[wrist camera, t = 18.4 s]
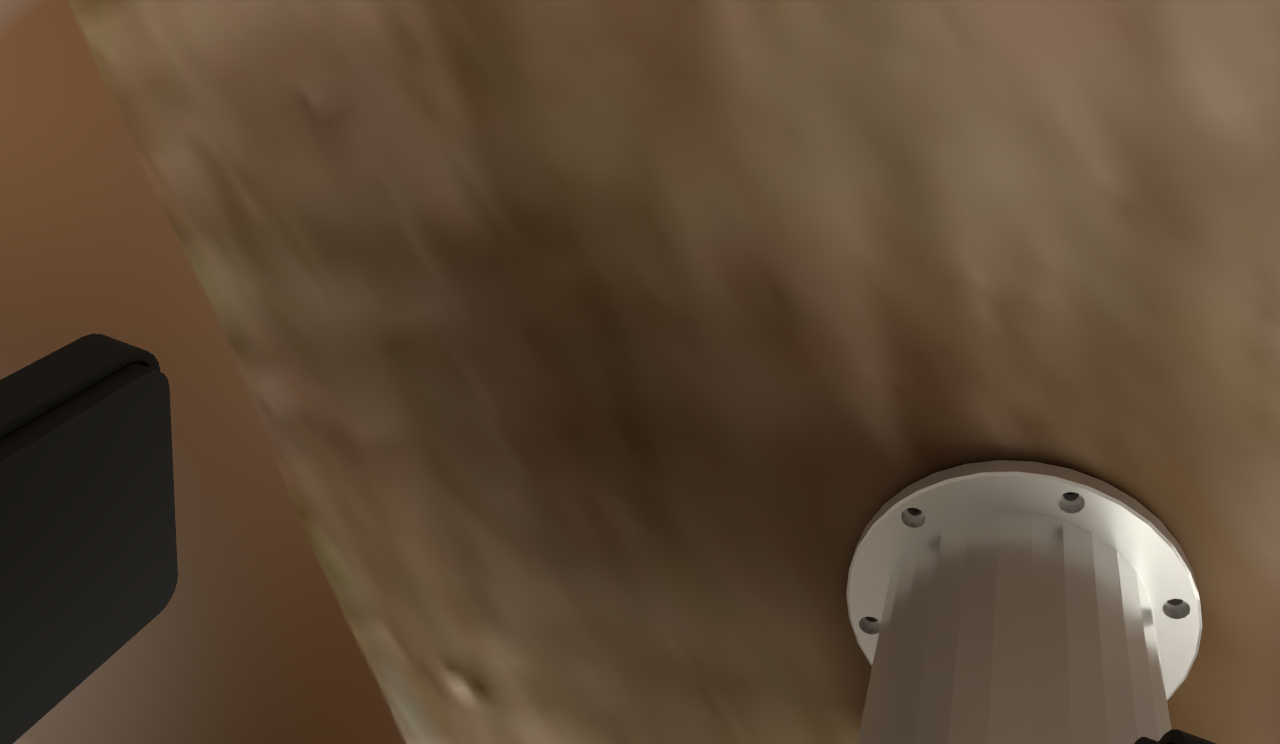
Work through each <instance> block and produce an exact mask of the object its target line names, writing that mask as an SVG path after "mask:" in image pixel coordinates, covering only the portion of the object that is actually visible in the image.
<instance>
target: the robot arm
mask: <svg viewBox="0 0 1280 744" xmlns="http://www.w3.org/2000/svg"><path fill="white" fill-rule="evenodd" d="M170 415H171V414H170V391H169V383H168V379H167V378H166V376H165V374H163V373H161V372H160V367H159V363H158V361H157V359H156V358H155V356H154V355H153V354H151V353H149V352H148V351H146V350H143V349H140V348H138V347H135V346H132V345H129V344H127V343H124V342H121V341H118V340H116V339H113V338H110V337H107V336H105V335H102V334H90V335H87V336H84V337H81V338H79V339H78V340H76V341H74V342H72V343H70V344H68V345H66V346H64V347H62V348H60V349H59V350H57V351H55V352H53V353H51V354H49V355H47V356H45V357H43V358H41V359H40V360H38V361H36V362H34V363H32V364H30V365H28V366H26V367H24V368H22V369H21V370H19V371H17V372H15V373H13V374H11V375H9V376H7V377H5V378H3V379H2V380H0V744H13V743H14V742H15V741H16V740H17V739H18V738H20V737H21V736H22V735H23V734H24V733H25V732H26V731H27V730H29V729H30V728H31V727H32V726H33V725H34V724H35V723H37V722H38V721H39V720H40V719H41V718H42V717H43V716H44V715H45V714H47V713H48V712H49V711H50V710H51V709H52V708H53V707H55V706H56V705H57V704H58V703H59V702H60V701H61V700H62V699H63V698H64V697H66V696H67V695H68V694H69V693H70V692H71V691H73V690H74V689H75V688H76V687H77V686H78V685H79V684H80V683H82V682H83V681H84V680H85V679H86V678H87V677H88V676H89V675H91V674H92V673H93V672H94V671H95V670H96V669H97V668H98V667H100V665H102V664H103V663H104V662H105V661H106V660H107V659H109V658H110V657H111V656H112V655H113V654H114V653H115V652H116V651H118V650H119V649H120V648H121V647H122V646H123V645H124V644H125V643H126V642H127V641H129V640H130V639H131V638H132V637H133V636H134V635H136V634H137V633H138V632H139V631H140V630H141V629H142V628H143V627H144V626H146V625H147V624H148V623H149V622H150V621H151V620H152V619H153V618H155V617H156V616H157V615H158V614H159V613H160V612H161V611H162V610H163V609H164V608H165V607H166V605H167V603H168V602H169V601H170V599H171V597H172V595H173V593H174V591H175V588H176V584H177V576H178V572H177V550H176V528H175V505H174V481H173V461H172V460H173V459H172V436H171V416H170ZM1067 492H1075V494H1067ZM913 508H917V509H918V510H917V509H913ZM846 597H847V606H848V614H849V620H850V623H851V626H852V629H853V631H854V634H855V637H856V640H857V643H858V644H859V646H860V648H861V649H862V651H863V653H864V655H865V656H866V658H867V660H868V661H869V663H870V665H871V666H872V669H871V674H870V680H869V685H868V690H867V695H866V700H865V705H864V710H863V715H862V720H861V725H860V730H859V736H858V741H857V744H1215V743H1213V742H1210V741H1207V740H1204V739H1202V738H1199V737H1196V736H1194V735H1191V734H1188V733H1185V732H1183V731H1180V730H1174V729H1171V725H1170V718H1169V712H1168V705H1167V700H1168V699H1170V697H1171V696H1172V695H1173V694H1174V692H1175V691H1176V690H1177V689H1178V687H1179V686H1180V685H1181V684H1182V682H1183V681H1184V680H1185V679H1186V677H1187V675H1188V673H1189V671H1190V669H1191V667H1192V664H1193V662H1194V660H1195V658H1196V656H1197V654H1198V649H1199V643H1200V638H1201V632H1202V616H1201V605H1200V597H1199V593H1198V589H1197V585H1196V581H1195V577H1194V573H1193V570H1192V568H1191V566H1190V564H1189V562H1188V560H1187V558H1186V556H1185V554H1184V552H1183V550H1182V548H1181V546H1180V544H1179V543H1178V542H1177V541H1176V539H1175V538H1174V537H1173V536H1172V534H1171V533H1170V532H1169V531H1168V530H1167V528H1166V527H1165V526H1164V525H1163V523H1162V522H1161V521H1160V520H1159V519H1158V518H1157V517H1156V516H1154V515H1153V514H1152V513H1151V512H1150V511H1148V510H1147V509H1146V508H1145V507H1144V506H1142V505H1141V504H1140V503H1139V502H1138V501H1137V500H1135V499H1134V498H1132V497H1130V496H1129V495H1127V494H1125V493H1124V492H1122V491H1120V490H1118V489H1117V488H1115V487H1113V486H1111V485H1110V484H1108V483H1106V482H1104V481H1102V480H1099V479H1096V478H1094V477H1091V476H1088V475H1086V474H1083V473H1080V472H1078V471H1075V470H1072V469H1069V468H1064V467H1059V466H1054V465H1049V464H1044V463H1039V462H1031V461H1009V460H996V461H987V462H979V463H970V464H964V465H960V466H957V467H953V468H950V469H946V470H943V471H939V472H936V473H933V474H931V475H929V476H927V477H925V478H923V479H921V480H919V481H917V482H915V483H913V484H911V485H909V486H907V487H906V488H904V489H903V490H902V491H900V492H899V493H898V494H897V495H895V496H894V497H893V498H891V499H890V500H889V501H887V502H886V503H885V504H884V505H883V506H882V507H881V508H880V510H879V511H878V512H877V513H876V514H875V515H874V517H873V518H872V519H871V520H870V521H869V522H868V524H867V525H866V527H865V529H864V531H863V533H862V535H861V537H860V539H859V541H858V543H857V545H856V547H855V551H854V555H853V558H852V561H851V565H850V568H849V574H848V583H847V591H846Z"/></svg>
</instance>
